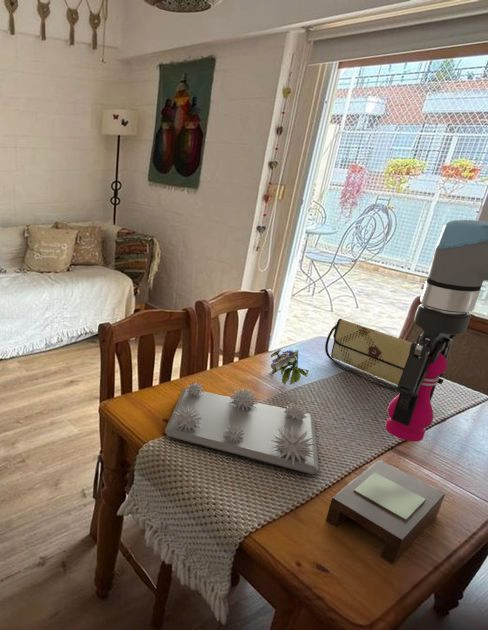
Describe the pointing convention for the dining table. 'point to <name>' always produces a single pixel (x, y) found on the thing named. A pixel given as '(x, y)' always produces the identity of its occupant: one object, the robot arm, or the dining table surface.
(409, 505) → the shelf
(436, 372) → the pepper mill
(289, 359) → the passion flower
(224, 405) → the decorative tray
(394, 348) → the clutch purse
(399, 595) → the dining table surface
